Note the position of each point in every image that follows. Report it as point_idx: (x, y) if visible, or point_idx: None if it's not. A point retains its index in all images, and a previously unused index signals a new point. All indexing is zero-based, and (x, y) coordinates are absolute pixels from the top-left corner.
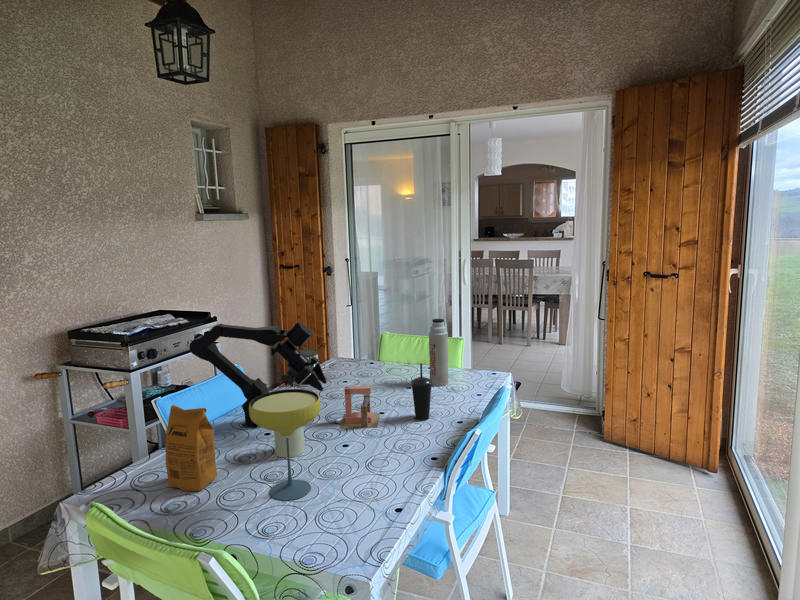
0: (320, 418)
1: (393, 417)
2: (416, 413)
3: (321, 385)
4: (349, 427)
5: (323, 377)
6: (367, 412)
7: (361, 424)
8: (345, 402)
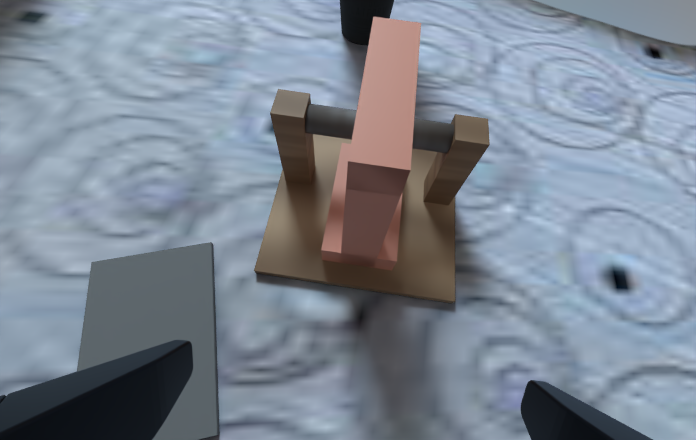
0: (267, 416)
1: (339, 97)
2: None
3: (583, 409)
4: (446, 254)
5: (138, 387)
6: (342, 160)
7: (452, 198)
8: (389, 223)
